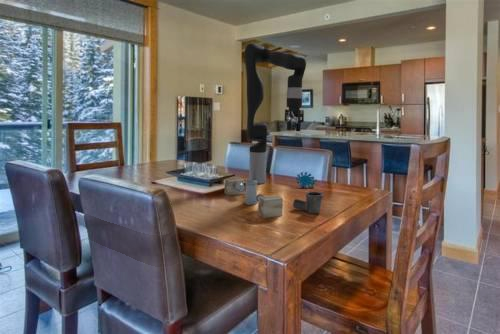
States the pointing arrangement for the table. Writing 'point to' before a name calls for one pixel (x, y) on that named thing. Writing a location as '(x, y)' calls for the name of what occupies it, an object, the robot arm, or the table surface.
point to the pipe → (309, 202)
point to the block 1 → (229, 186)
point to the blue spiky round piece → (305, 180)
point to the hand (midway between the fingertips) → (293, 130)
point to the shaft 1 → (238, 187)
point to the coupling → (251, 192)
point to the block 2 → (270, 206)
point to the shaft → (259, 196)
